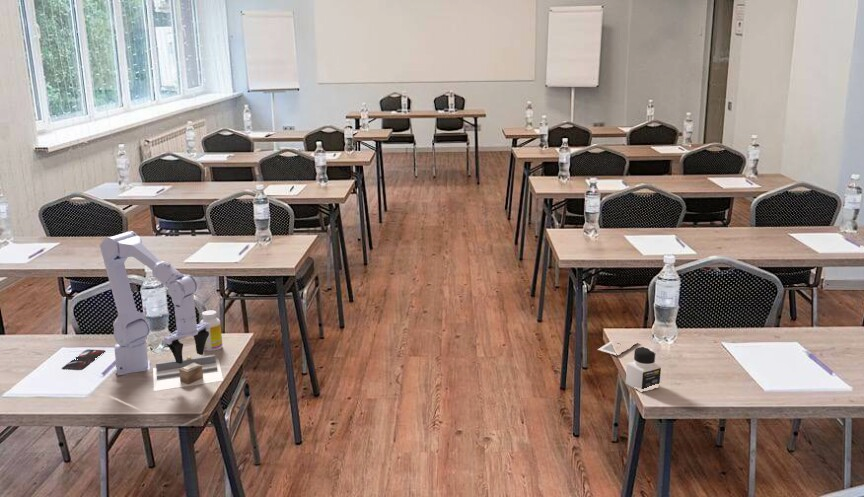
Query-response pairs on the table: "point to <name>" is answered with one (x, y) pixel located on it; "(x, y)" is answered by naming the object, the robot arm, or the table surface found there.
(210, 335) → the supplement bottle
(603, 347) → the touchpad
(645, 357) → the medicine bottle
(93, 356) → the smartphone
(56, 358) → the table surface
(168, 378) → the wall board
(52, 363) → the table surface
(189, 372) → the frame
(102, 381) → the table surface
